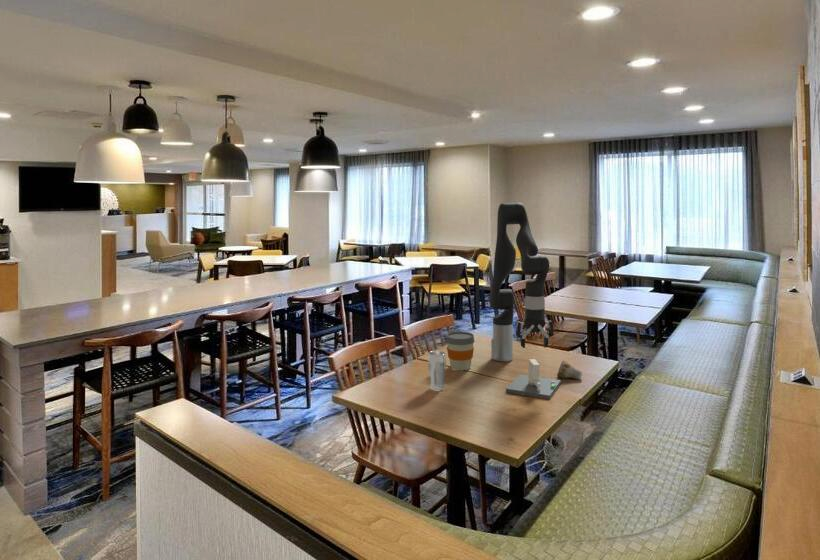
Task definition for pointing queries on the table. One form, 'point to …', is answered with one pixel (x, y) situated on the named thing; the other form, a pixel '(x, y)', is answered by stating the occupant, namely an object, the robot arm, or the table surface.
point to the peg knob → (534, 373)
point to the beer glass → (437, 369)
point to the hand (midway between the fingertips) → (534, 347)
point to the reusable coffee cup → (460, 349)
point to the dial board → (534, 387)
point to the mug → (568, 371)
